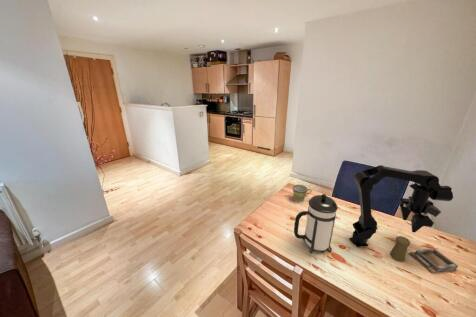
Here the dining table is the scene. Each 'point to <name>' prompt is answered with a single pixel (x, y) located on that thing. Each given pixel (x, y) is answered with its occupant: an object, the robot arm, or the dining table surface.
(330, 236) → the coffee press
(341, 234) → the dining table surface
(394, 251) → the olive tall rounded piece
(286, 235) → the dining table surface
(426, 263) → the frame
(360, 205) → the robot arm
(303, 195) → the ceramic cup
